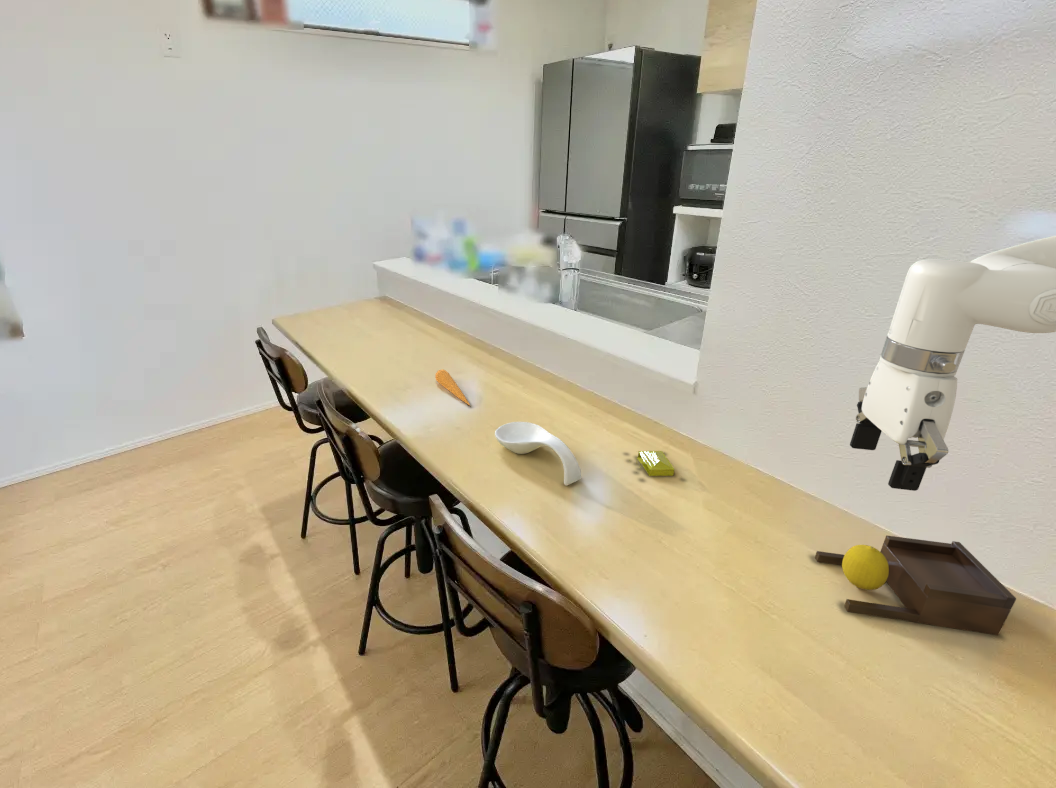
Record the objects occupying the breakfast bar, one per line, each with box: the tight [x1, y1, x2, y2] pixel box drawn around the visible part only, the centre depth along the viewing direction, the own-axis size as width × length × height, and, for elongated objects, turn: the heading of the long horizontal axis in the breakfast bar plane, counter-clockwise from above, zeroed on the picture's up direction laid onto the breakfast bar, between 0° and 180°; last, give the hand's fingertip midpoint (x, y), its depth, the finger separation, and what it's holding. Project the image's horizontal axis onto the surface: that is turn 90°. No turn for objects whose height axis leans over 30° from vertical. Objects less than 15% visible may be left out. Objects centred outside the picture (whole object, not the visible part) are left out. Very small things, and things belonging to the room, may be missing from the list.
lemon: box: [841, 544, 889, 591], centre depth 77 cm, size 6×6×8 cm
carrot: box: [434, 368, 471, 406], centre depth 145 cm, size 20×4×4 cm, turn 27°
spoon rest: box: [494, 421, 582, 486], centre depth 112 cm, size 24×12×7 cm, turn 34°
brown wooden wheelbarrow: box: [814, 535, 1017, 636], centre depth 76 cm, size 19×11×7 cm, turn 77°
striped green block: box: [629, 450, 682, 477], centre depth 109 cm, size 10×9×3 cm
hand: (880, 466), depth 70 cm, fingers open, 9 cm apart
